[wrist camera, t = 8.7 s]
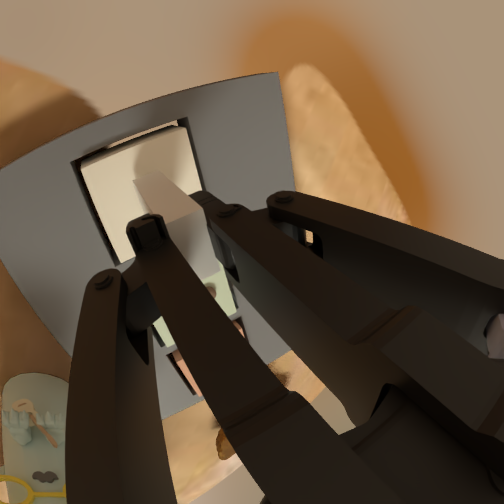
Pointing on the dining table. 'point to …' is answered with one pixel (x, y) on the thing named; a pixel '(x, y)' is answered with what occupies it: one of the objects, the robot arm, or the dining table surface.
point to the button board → (87, 226)
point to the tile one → (130, 168)
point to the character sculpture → (34, 439)
